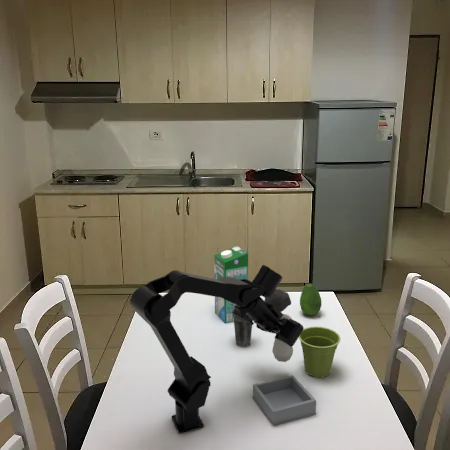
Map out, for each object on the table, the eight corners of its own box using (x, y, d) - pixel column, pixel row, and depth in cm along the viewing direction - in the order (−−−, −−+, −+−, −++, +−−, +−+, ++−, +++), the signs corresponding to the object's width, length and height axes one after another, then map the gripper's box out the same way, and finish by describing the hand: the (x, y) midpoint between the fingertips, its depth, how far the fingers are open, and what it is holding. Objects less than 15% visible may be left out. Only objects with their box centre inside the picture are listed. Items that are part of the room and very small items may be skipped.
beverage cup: (227, 346, 154) (227, 288, 148) (237, 336, 160) (238, 280, 155) (248, 351, 151) (249, 292, 145) (258, 341, 157) (258, 284, 151)
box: (315, 414, 121) (316, 400, 120) (273, 426, 117) (273, 411, 116) (292, 387, 132) (292, 375, 131) (252, 397, 128) (252, 384, 127)
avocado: (296, 310, 179) (298, 280, 175) (317, 309, 179) (319, 279, 176) (302, 320, 171) (303, 289, 168) (323, 319, 172) (325, 288, 168)
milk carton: (214, 313, 177) (214, 248, 170) (236, 308, 180) (236, 245, 174) (225, 323, 169) (224, 256, 162) (248, 318, 172) (248, 252, 166)
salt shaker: (291, 364, 133) (293, 321, 129) (271, 362, 134) (272, 319, 130) (293, 353, 138) (295, 312, 135) (273, 351, 139) (274, 310, 136)
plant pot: (288, 366, 142) (290, 332, 139) (320, 356, 148) (322, 323, 145) (313, 387, 132) (315, 350, 129) (347, 375, 138) (349, 340, 135)
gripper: (300, 295, 120) (327, 323, 130) (251, 274, 135) (279, 300, 144) (276, 333, 118) (305, 359, 127) (229, 307, 132) (258, 332, 141)
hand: (286, 335), depth 135 cm, fingers closed on salt shaker, 3 cm apart
